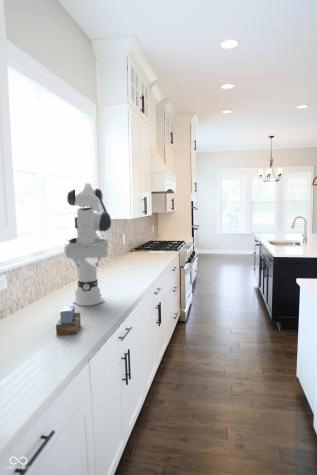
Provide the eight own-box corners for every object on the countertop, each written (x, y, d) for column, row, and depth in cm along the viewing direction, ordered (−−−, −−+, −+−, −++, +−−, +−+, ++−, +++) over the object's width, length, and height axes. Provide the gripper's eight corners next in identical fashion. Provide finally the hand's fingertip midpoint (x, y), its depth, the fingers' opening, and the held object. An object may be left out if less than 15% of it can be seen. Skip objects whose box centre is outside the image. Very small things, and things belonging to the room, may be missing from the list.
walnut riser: (62, 326, 166) (61, 312, 165) (80, 325, 166) (80, 311, 166) (56, 335, 154) (55, 320, 153) (76, 334, 154) (75, 319, 154)
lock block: (64, 318, 162) (64, 306, 162) (75, 317, 163) (74, 305, 162) (60, 323, 154) (60, 311, 154) (71, 323, 155) (71, 310, 154)
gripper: (108, 238, 170) (109, 264, 171) (67, 238, 169) (68, 265, 170) (107, 239, 164) (107, 267, 165) (64, 240, 162) (66, 268, 164)
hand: (87, 266), depth 168 cm, fingers open, 8 cm apart
